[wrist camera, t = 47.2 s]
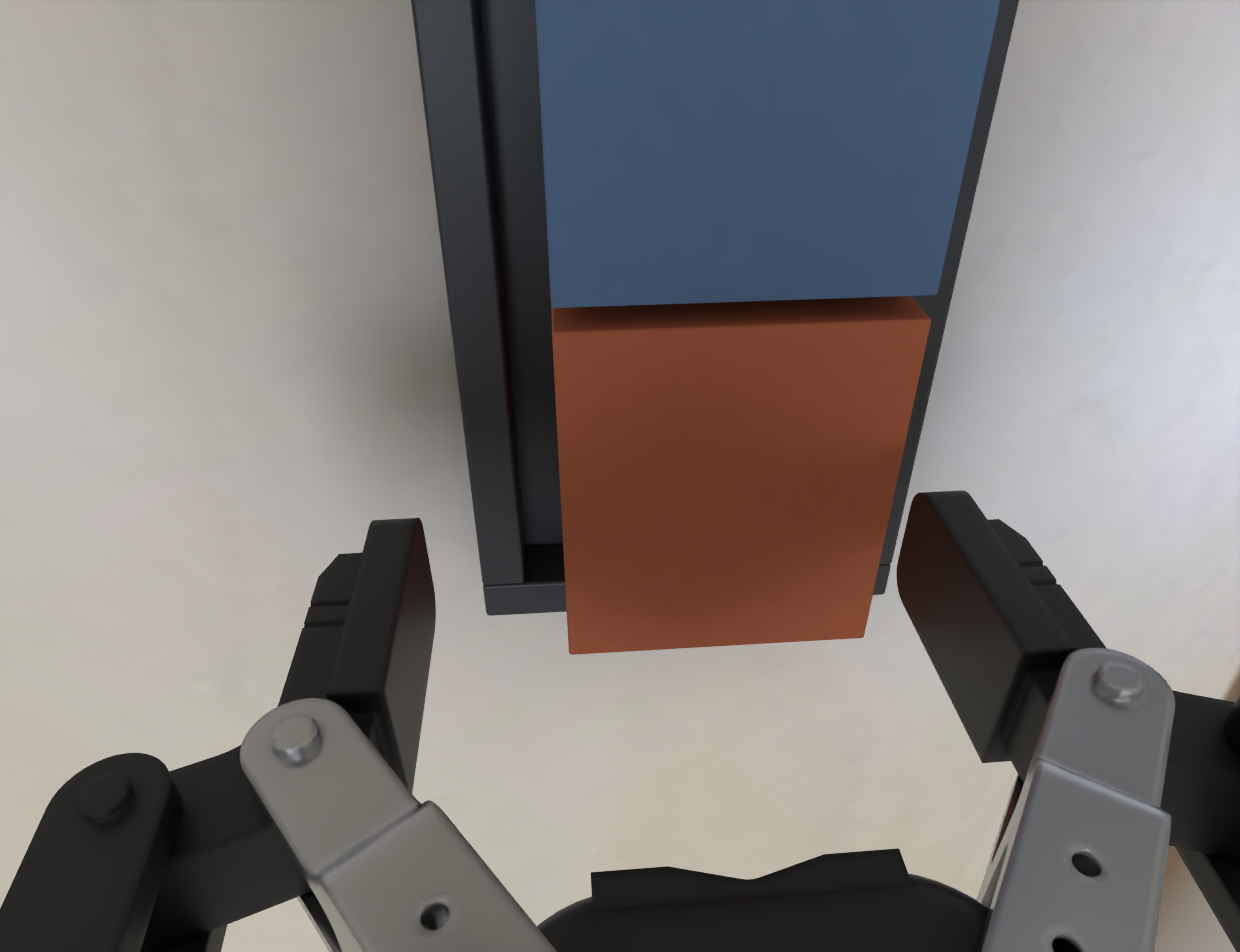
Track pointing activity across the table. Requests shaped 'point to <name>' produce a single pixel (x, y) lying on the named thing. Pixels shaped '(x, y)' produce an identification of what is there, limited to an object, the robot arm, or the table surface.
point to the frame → (520, 283)
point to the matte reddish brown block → (729, 466)
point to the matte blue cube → (754, 146)
